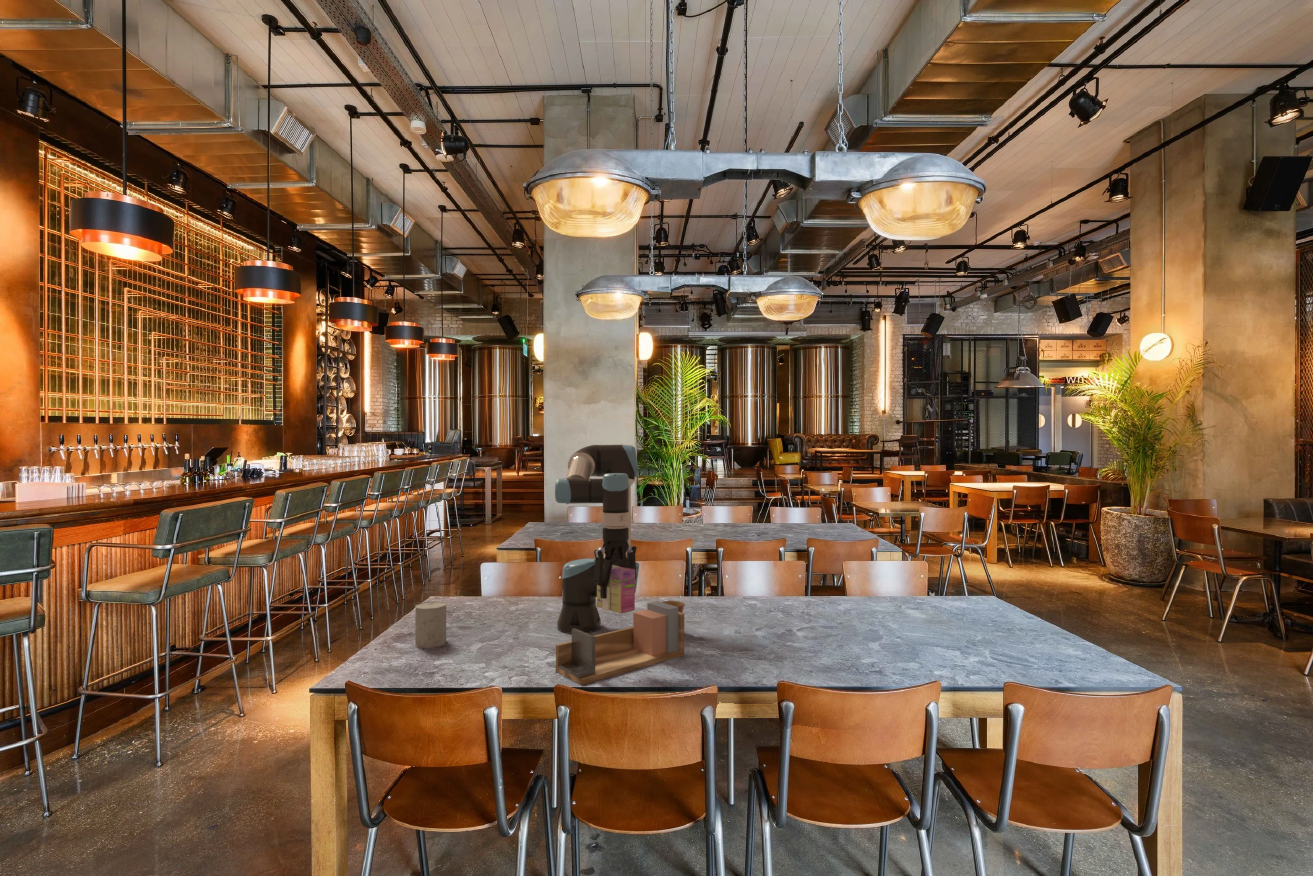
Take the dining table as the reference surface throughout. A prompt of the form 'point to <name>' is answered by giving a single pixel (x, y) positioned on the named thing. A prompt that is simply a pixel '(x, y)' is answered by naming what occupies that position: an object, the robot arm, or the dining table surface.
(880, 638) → the dining table surface
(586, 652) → the bookend
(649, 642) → the row books
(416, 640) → the grey stone cylinder
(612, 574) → the box
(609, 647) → the wooden desk organizer
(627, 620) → the dining table surface
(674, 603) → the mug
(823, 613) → the dining table surface
